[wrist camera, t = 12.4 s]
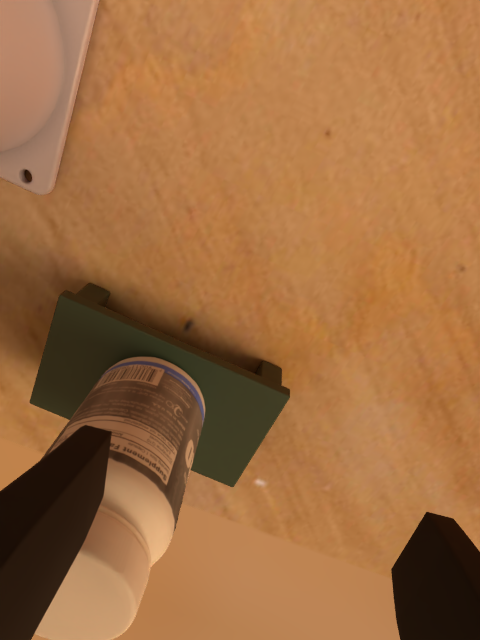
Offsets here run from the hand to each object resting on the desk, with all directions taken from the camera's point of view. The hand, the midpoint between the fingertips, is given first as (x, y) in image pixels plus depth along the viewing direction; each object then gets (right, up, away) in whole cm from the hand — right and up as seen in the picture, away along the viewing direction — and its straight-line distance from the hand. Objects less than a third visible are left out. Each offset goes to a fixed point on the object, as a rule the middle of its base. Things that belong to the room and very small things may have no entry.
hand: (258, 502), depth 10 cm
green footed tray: (-4, +2, +11) cm, 11 cm away
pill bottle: (-4, +1, +9) cm, 10 cm away
